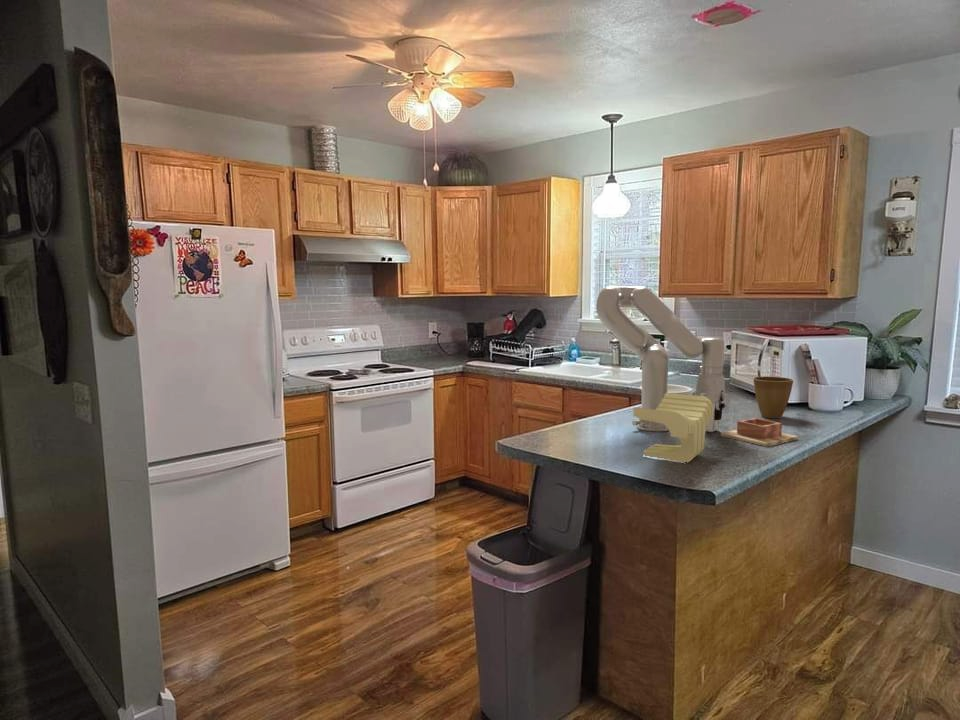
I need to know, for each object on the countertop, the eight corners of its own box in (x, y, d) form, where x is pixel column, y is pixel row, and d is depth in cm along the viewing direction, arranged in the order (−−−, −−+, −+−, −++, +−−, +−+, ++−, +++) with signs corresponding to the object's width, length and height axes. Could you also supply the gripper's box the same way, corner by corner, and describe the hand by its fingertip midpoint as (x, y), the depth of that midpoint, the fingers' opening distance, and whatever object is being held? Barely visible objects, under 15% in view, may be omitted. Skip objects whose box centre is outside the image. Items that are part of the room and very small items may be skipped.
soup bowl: (628, 401, 288) (628, 387, 287) (657, 395, 303) (658, 382, 302) (673, 409, 269) (673, 394, 268) (702, 402, 285) (702, 388, 284)
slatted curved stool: (684, 472, 178) (686, 413, 176) (632, 464, 187) (633, 407, 185) (711, 449, 202) (713, 397, 200) (664, 443, 211) (665, 392, 209)
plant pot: (799, 417, 249) (801, 379, 247) (776, 422, 242) (778, 382, 240) (766, 411, 262) (768, 374, 260) (743, 415, 254) (745, 377, 253)
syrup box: (703, 427, 232) (705, 390, 230) (718, 429, 228) (721, 391, 226) (697, 430, 227) (699, 392, 226) (713, 432, 224) (716, 394, 222)
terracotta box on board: (766, 446, 205) (767, 430, 204) (721, 436, 220) (721, 420, 219) (797, 439, 214) (798, 423, 213) (752, 429, 229) (752, 414, 229)
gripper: (686, 368, 230) (683, 414, 233) (725, 374, 216) (722, 423, 218) (699, 367, 234) (696, 412, 237) (738, 373, 220) (735, 421, 222)
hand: (709, 417), depth 227 cm, fingers closed on syrup box, 7 cm apart
